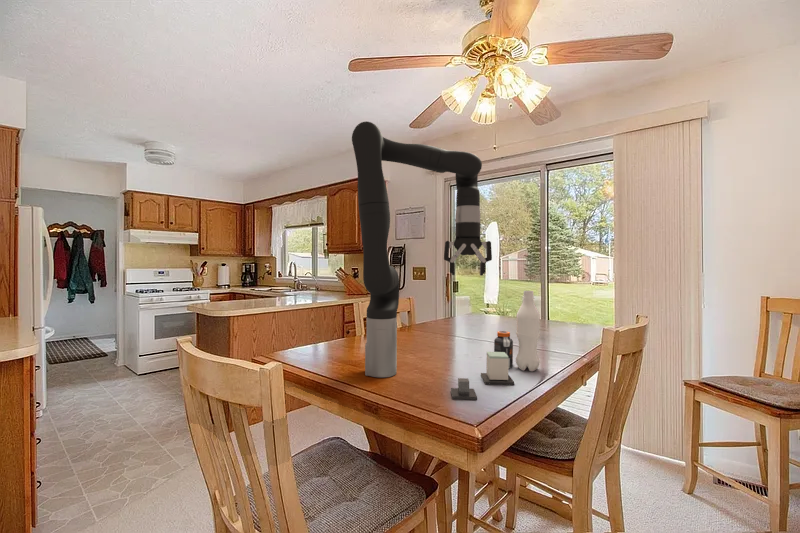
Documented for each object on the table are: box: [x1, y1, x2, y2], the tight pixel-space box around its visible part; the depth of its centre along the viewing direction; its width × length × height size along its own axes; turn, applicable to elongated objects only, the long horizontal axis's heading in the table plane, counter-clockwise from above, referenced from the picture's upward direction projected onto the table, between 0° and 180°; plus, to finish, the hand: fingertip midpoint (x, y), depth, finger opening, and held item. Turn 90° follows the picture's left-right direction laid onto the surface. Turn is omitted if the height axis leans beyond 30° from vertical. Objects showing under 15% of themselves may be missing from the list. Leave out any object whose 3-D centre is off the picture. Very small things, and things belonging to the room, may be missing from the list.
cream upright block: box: [485, 351, 509, 380], centre depth 108 cm, size 5×5×7 cm
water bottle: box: [515, 290, 541, 372], centre depth 120 cm, size 7×7×25 cm
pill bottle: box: [493, 330, 514, 369], centre depth 123 cm, size 6×6×11 cm
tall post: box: [480, 372, 515, 386], centre depth 108 cm, size 8×8×7 cm
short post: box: [450, 377, 478, 401], centre depth 96 cm, size 6×6×4 cm
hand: (467, 275), depth 114 cm, fingers open, 8 cm apart
